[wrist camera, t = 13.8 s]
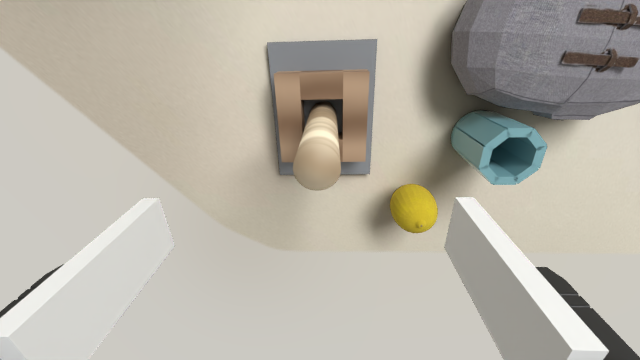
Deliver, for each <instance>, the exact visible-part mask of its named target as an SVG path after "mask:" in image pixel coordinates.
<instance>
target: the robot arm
mask: <svg viewBox="0 0 640 360" xmlns="http://www.w3.org/2000/svg"><path fill="white" fill-rule="evenodd" d="M174 247H175V245H174V241H173V238H172V235H171V233H170V230H169V226H168V223H167V221H166V217H165V214H164V211H163V208H162V205H161V202H160V199H159V198H143V199H142V200H140V201H139V202H138V203H137V204H135V205H134V206H133V207H132V208H131V209H129V210H128V211H127V212H126V213H125V214H123V215H122V216H121V217H120V218H119V219H118V220H116V221H115V222H114V223H113V224H112V225H110V226H109V227H108V228H107V229H106V230H104V231H103V232H102V233H101V234H100V235H98V236H97V237H96V238H95V239H94V240H93V241H91V242H90V243H89V244H88V245H87V246H85V247H84V248H83V249H82V250H81V251H80V252H78V253H77V254H76V255H75V256H74V257H72V258H71V259H70V260H69V261H68V262H66V263H65V264H63V265H61V266H59V267H58V268H56V269H54V270H52V271H51V272H49V273H47V274H46V275H44V276H43V277H42V278H41V279H39V280H38V281H37V282H36V283H35V284H33V285H32V286H31V288H30V289H28V290H26V291H25V292H24V293H22V294H21V295H20V296H19V297H18V299H17V300H14V301H13V302H11V303H10V304H9V305H8V306H7V307H5V308H4V309H3V310H2V311H1V312H0V360H89V358H90V357H91V356H92V354H93V353H94V352H95V350H96V349H97V348H98V346H99V345H100V344H101V343H102V341H103V340H104V339H105V337H106V336H107V335H108V333H109V332H110V331H111V329H112V328H113V327H114V325H115V324H116V323H117V322H118V320H119V319H120V318H121V316H122V315H123V314H124V312H125V311H126V310H127V308H128V307H129V306H130V304H131V303H132V302H133V301H134V299H135V298H136V297H137V295H138V294H139V292H140V291H141V290H142V289H143V287H144V286H145V285H146V283H147V282H148V281H149V279H150V278H151V277H152V276H153V274H154V273H155V272H156V270H157V269H158V268H159V266H160V265H161V264H162V262H163V261H164V260H165V258H166V257H167V256H168V255H169V253H170V252H171V251H172V249H173V248H174ZM444 248H445V250H446V252H447V254H448V255H449V257H450V259H451V261H452V263H453V265H454V267H455V269H456V271H457V272H458V274H459V276H460V278H461V280H462V282H463V284H464V286H465V287H466V289H467V291H468V293H469V295H470V297H471V299H472V301H473V303H474V304H475V306H476V308H477V310H478V312H479V314H480V316H481V318H482V320H483V322H484V323H485V325H486V327H487V329H488V331H489V333H490V335H491V337H492V338H493V340H494V342H495V344H496V346H497V348H498V350H499V352H500V354H501V355H502V357H503V359H504V360H640V357H639V356H638V355H637V354H636V353H635V352H634V351H633V350H632V349H631V348H630V347H629V346H628V345H627V344H626V343H625V342H624V341H623V340H622V339H621V338H620V336H619V335H617V333H616V332H615V331H614V330H613V329H612V328H611V327H610V326H609V325H608V324H607V323H606V322H605V321H604V320H603V319H602V318H601V317H600V316H599V315H598V314H597V313H596V312H595V311H594V309H593V308H590V306H589V304H588V303H587V302H586V301H585V300H584V299H583V298H582V297H581V296H578V293H577V292H576V291H575V290H574V289H573V288H572V286H571V285H570V284H569V283H568V282H567V281H566V280H564V279H563V278H562V277H560V276H559V275H557V274H556V273H554V272H553V271H551V270H550V269H549V268H547V267H535V266H534V265H533V264H532V263H531V262H530V261H529V260H528V259H527V257H526V256H525V255H524V254H523V253H522V252H521V251H520V249H519V248H518V247H517V246H516V245H515V244H514V243H513V241H512V240H511V239H510V238H509V237H508V236H507V235H506V234H505V232H504V231H503V230H502V229H501V228H500V227H499V226H498V224H497V223H496V222H495V221H494V220H493V219H492V218H491V216H490V215H489V214H488V213H487V212H486V211H485V210H484V209H483V207H482V206H481V205H480V204H479V203H478V202H477V201H476V199H475V198H474V197H455V201H454V206H453V210H452V215H451V219H450V224H449V229H448V233H447V238H446V242H445V247H444Z"/></svg>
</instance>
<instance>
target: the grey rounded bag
mask: <svg viewBox="0 0 640 360" xmlns="http://www.w3.org/2000/svg"><path fill="white" fill-rule="evenodd" d="M451 65H452V67H453V68H454V70H455V72H456V74H457V76H458V78H459V80H460V82H461V84H462V86H463V88H464V90H465V92H466V94H473V95H475V96H477V97H479V98H482V99H484V100H486V101H488V102H491V103H493V104H495V105H497V106H501V107H507V108H513V109H520V110H528V111H532V112H533V115H537V116H542V117H546V118H550V119H556V120H559V119H576V120H590V119H591V118H593V117H595V116H597V115H600V114H604V113H607V112H611V111H614V110H618V109H621V108H624V107H628V106H631V105H635V104H638V103H640V0H467V1H466V3H465V6H464V8H463V10H462V12H461V14H460V17H459V19H458V21H457V23H456V25H455V28H454V30H453V32H452V46H451ZM562 121H564V120H562Z"/></svg>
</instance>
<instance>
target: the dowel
mask: <svg viewBox="0 0 640 360" xmlns="http://www.w3.org/2000/svg"><path fill="white" fill-rule="evenodd" d="M293 173H294V176H295V178H296V180H297V181H298V182H299V183H300V184H301V185H302V186H304V187H305V188H308V189H310V190H324V189H327V188H329V187H331V186H332V185H334V184H335V183H336V181H337V180H338V178H339V176H340V173H341V163H340V151H339V139H338V127H337V115H336V110H335V108H334V106H333V105H332V104H330V103H329V102H326V101H321V102H318V103H316V104H315V105H314V106H313V107H312V108H311V111H310V114H309V117H308V120H307V123H306V126H305V129H304V132H303V135H302V138H301V141H300V145H299V148H298V151H297V154H296V157H295V160H294V163H293Z"/></svg>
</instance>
